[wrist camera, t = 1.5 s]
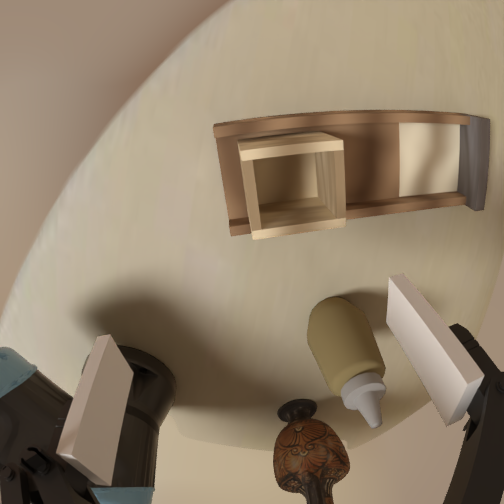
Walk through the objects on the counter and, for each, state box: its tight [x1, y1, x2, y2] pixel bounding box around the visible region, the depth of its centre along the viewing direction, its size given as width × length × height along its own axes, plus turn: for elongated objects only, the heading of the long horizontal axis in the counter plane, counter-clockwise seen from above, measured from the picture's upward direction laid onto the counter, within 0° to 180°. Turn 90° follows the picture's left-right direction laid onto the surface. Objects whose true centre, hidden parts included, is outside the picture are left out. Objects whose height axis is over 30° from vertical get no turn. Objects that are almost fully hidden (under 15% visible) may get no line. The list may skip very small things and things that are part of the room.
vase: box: [273, 399, 350, 504], centre depth 38 cm, size 12×12×30 cm
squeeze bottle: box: [307, 297, 386, 428], centre depth 33 cm, size 8×8×18 cm
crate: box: [237, 131, 346, 240], centre depth 28 cm, size 8×7×7 cm
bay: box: [213, 110, 490, 236], centre depth 30 cm, size 30×11×5 cm, turn 97°
